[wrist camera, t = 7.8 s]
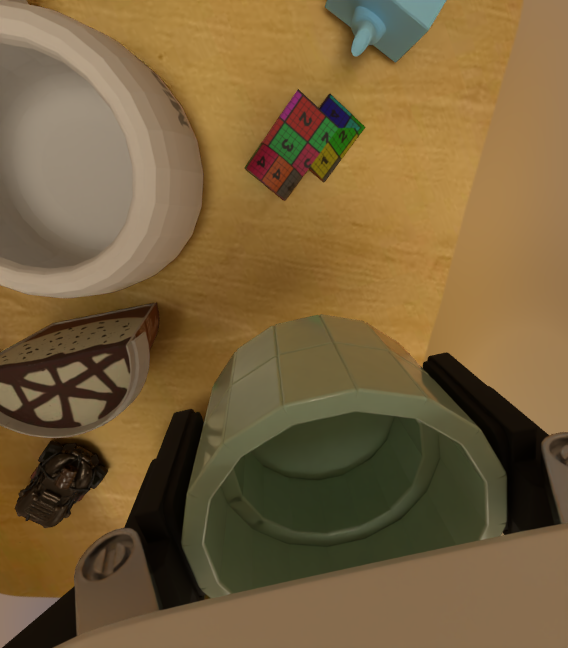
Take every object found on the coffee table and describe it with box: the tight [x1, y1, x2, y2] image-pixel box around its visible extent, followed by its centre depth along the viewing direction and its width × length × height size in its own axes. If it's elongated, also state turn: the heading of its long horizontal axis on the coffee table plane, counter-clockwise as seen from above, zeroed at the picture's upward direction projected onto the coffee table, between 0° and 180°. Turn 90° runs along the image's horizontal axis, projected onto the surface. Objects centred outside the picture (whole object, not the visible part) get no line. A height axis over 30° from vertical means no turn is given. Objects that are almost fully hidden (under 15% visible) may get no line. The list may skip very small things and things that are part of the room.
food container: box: [0, 303, 159, 438], centre depth 28 cm, size 12×6×10 cm, turn 101°
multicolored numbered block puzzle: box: [245, 89, 365, 201], centre depth 26 cm, size 8×5×4 cm
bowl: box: [181, 314, 507, 598], centre depth 10 cm, size 7×7×5 cm
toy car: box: [15, 441, 108, 543], centre depth 35 cm, size 6×12×4 cm, turn 141°
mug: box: [0, 0, 204, 298], centre depth 23 cm, size 21×17×10 cm
